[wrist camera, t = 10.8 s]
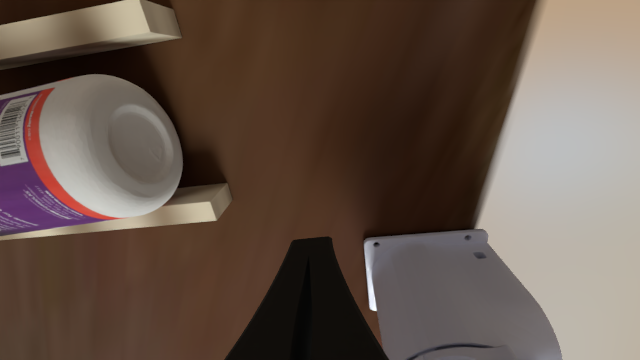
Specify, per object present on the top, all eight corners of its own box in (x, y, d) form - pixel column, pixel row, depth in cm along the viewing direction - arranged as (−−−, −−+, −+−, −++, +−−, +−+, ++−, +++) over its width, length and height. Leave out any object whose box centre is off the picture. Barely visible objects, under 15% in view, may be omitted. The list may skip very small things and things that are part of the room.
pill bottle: (203, 158, 20) (51, 184, 22) (137, 50, 15) (-53, 96, 17) (153, 245, 14) (-50, 269, 16) (12, 114, 9) (-258, 174, 11)
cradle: (173, 9, 16) (138, -3, 13) (232, 199, 21) (216, 220, 18) (-114, 64, 18) (-195, 64, 15) (3, 222, 23) (-42, 244, 20)
